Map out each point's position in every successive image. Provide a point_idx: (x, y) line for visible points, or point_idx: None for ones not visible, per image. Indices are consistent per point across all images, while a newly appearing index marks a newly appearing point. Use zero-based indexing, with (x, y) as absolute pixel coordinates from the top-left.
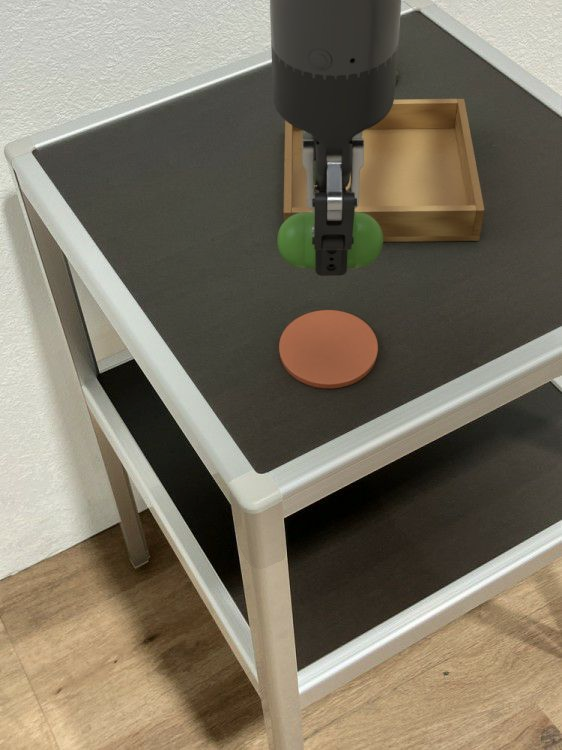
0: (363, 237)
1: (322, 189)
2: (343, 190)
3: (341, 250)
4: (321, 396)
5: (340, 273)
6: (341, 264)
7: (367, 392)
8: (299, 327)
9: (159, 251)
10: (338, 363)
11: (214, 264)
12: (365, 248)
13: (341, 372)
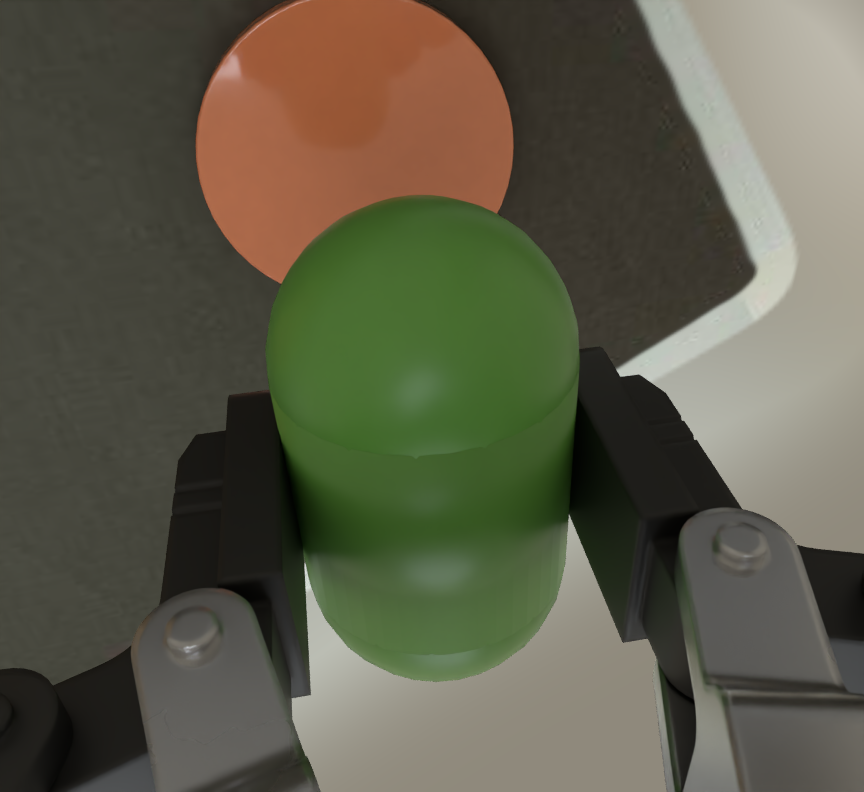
0: (549, 371)
1: (290, 680)
2: (264, 586)
3: (724, 489)
4: (534, 158)
5: (648, 384)
6: (682, 421)
7: (523, 15)
8: (292, 256)
9: (64, 600)
10: (432, 126)
11: (70, 489)
12: (571, 326)
13: (468, 113)
